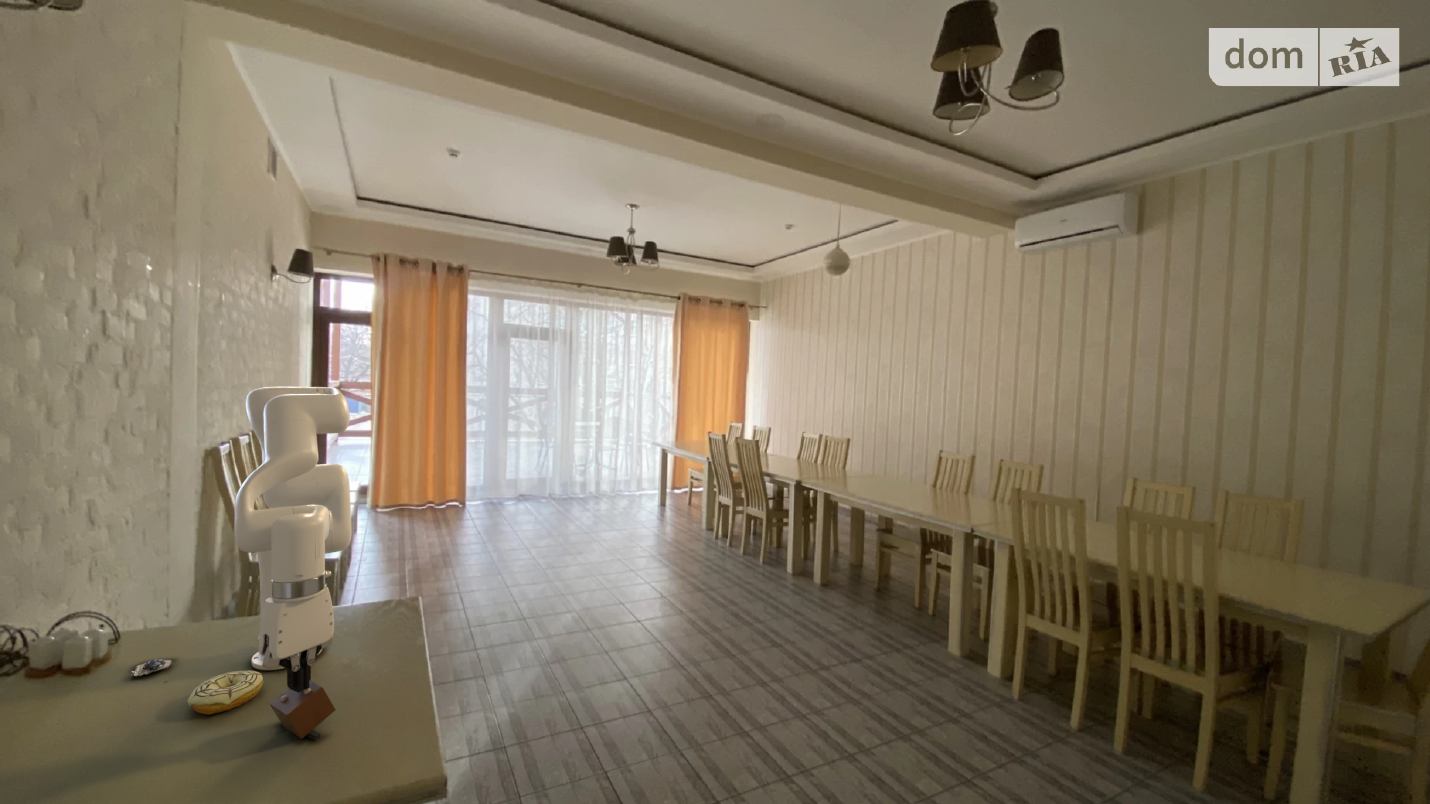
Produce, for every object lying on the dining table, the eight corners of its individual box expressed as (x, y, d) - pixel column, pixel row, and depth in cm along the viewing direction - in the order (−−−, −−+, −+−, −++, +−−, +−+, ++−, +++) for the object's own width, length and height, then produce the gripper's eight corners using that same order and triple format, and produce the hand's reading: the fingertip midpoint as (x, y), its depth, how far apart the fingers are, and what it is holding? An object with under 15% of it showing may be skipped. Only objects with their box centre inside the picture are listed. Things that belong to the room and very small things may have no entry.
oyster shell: (134, 681, 114) (134, 672, 114) (121, 670, 118) (121, 661, 118) (179, 667, 120) (178, 658, 120) (164, 657, 124) (164, 648, 124)
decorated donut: (173, 717, 103) (172, 697, 103) (220, 685, 114) (220, 667, 113) (233, 716, 104) (233, 696, 103) (275, 684, 114) (274, 666, 114)
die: (266, 700, 98) (304, 671, 103) (282, 726, 101) (319, 696, 106) (285, 713, 95) (324, 682, 100) (301, 739, 98) (338, 707, 103)
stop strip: (281, 724, 102) (281, 720, 102) (286, 722, 103) (285, 717, 103) (315, 740, 98) (315, 736, 98) (320, 738, 98) (320, 733, 98)
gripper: (329, 569, 107) (329, 664, 108) (236, 596, 93) (236, 705, 94) (355, 576, 104) (355, 674, 105) (262, 604, 90) (263, 717, 91)
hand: (299, 688), depth 99 cm, fingers closed
